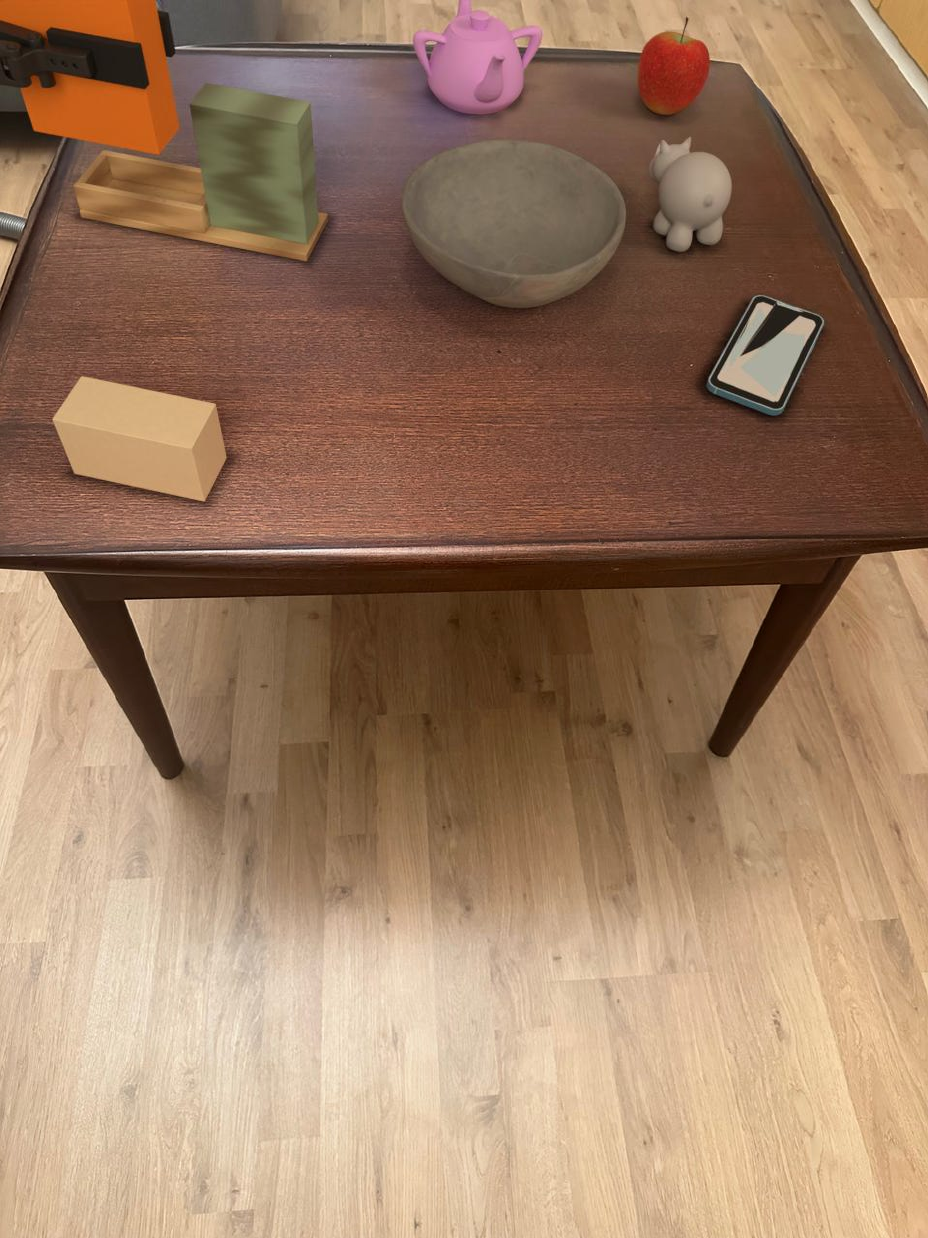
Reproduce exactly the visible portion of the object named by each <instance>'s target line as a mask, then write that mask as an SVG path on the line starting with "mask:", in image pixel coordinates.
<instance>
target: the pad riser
mask: <svg viewBox="0 0 928 1238" xmlns="http://www.w3.org/2000/svg"><path fill="white" fill-rule="evenodd" d="M52 422H53V425H54V427H55V429H56V433H57V435H58V437H59V439H60V442H61V444H62V447H63V449H64V452H65V454H66V456H67V459H68V461H69V464H70V467H71V470H72V472H73V474H74V475H79V476H83V477H86V478H87V477H88V478H93V479H97V480H101V481H106V482H110V483H117V484H121V485H125V486H130V487H135V488H138V489H139V488H140V489H143V490H149V491H152V492H158V493H163V494H167V495H171V496H177V497H181V498H186V499H191V500H195V501H199V502H205V501H206V500H207V498H208V495H209V494H210V492H211V490H212V488H213V486H214V484H215V482H216V480H217V478H218V477H219V474H220V472H221V470H222V468H223V466H224V464H225V463H226V460H227V452H226V448H225V443H224V438H223V432H222V429H221V423H220V418H219V414H218V408H217V404H216V403H214V402H211V401H209V402H208V401H205V400H200V399H195V398H191V397H185V396H180V395H176V394H171V393H166V392H161V391H156V390H152V389H148V388H147V389H146V388H141V387H137V386H133V385H127V384H123V383H118V382H112V381H108V380H104V379H99V378H95V377H94V378H93V377H88V376H85V375H84V376H83V375H81V376H80V378H79V379H78V380H77V382H76V383H75V384H74V386H73V388H72V389H71V391H70V392H69V393H68V395H67V397H66V398H65V399H64V401H63V403H62V404H61V405H60V407H59V408H58V409H57V412H56V413H55V414H54V416H53V418H52Z"/></svg>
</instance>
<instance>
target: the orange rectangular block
mask: <svg viewBox="0 0 928 1238" xmlns="http://www.w3.org/2000/svg"><path fill="white" fill-rule="evenodd" d="M158 11H159V10H158V7H157V2H156V0H0V20H1V21H4V22H7V23H11V24H14V25H17V26H20V27H23V28H27V29H30V30H33V31H36V32H39V33H41V34H42V35H43V39H44V41H48V38H47V34H46V31H47V30H48V29H49V28H50V27H53V28H59V29H64V30H70V31H75V32H81V33H86V34H92V35H97V36H102V37H108V38H113V39H119V40H124V41H130V42H137V43H141V45H142V50H143V55H144V60H145V65H146V69H147V74H148V79H149V85H148V87H147V88H146V89H140V88H135V87H130V86H124V85H119V84H114V83H108V82H103V81H98V80H92V79H87V78H81V77H76V76H71V75H65V74H60V73H55V72H53V73H54V77H55V80H56V85H55V86H54V87H51V88H42V86H41V83H40V80H39V77H38V76H35V75H33V76H31V77H30V78H31V81H32V84H31V85H30V86H29V87H27V88H19V89H20V92H21V95H22V98H23V102H24V104H25V107H26V111H27V114H28V117H29V120H30V123H31V126H32V129H33V132H37V133H42V134H47V135H54V136H58V137H63V138H68V139H74V140H78V141H79V140H80V141H85V142H89V143H94V144H100V145H106V146H110V147H116V148H121V149H126V150H131V151H135V152H142V153H147V154H152V155H157V156H159V155H160V154H161V153H162V152H163V150H164V149H165V148H166V146H167V145H168V144H169V142H170V141H171V140H172V138H174V136H175V135H176V134H177V132H178V131H179V130H180V123H179V118H178V113H177V107H176V102H175V101H176V100H175V96H174V91H173V87H172V81H171V75H170V70H169V67H168V66H169V65H168V60H167V57H166V54H165V48H164V43H163V38H162V33H161V27H160V22H159V17H158Z"/></svg>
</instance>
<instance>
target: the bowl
mask: <svg viewBox="0 0 928 1238" xmlns="http://www.w3.org/2000/svg"><path fill="white" fill-rule="evenodd" d="M400 208H401V213H402V218H403V222H404V224H405V227H406V230H407V232H408V235H409V237H410V239H411V241H412V243H413V245H414V247H415V249H416V250H417V252H419V254H420V256H421V257H422V258H423V259H424V260H425V262H427V264H429V265H430V267H432V268H433V270H435V271H436V272H438V273H439V274H440V275H441V276H442V277H444V278H445V279H446V280H447V281H449V282H451V283H452V285H453V284H454V285H455V286H456V287H457V288H460V289H462V290H463V291H465V292H467V293H468V294H470V295H472V296H475V297H477V298H479V299H481V300H483V301H485V302H487V303H490V304H492V305H495V306H497V307H503V308H510V309H530V308H535V307H537V308H538V307H542V306H545V305H550V304H551V303H554V302H555V301H557V300H561V299H563V298H566V297H568V296H570V295H572V294H574V293H576V292H578V291H579V290H581V289H582V288H583V287H585V286H586V285H587V284H588V283H590V282H591V281H592V280H593V279H594V278H595V277H597V275H599V273H600V272H601V271H602V270H603V269H604V268H605V267H606V266H607V264H608V263H609V262H610V260H611V259H612V257H613V256H614V254H615V253H616V250H617V249H618V247H619V245H620V243H621V240H622V239H623V235H624V232H625V227H626V221H627V220H626V219H627V209H626V204H625V199H624V197H623V195H622V193H621V191H620V189H619V188H618V186H617V185H616V183H615V182H614V181H613V180H612V179H611V177H610V176H608V174H607V173H605V172H604V171H603V170H601V169H600V168H599V167H597V166H596V165H594V164H593V163H591V162H590V161H588V160H586V159H584V158H582V157H580V156H578V155H577V154H575V153H573V152H571V151H569V150H567V149H564V148H562V147H559V146H556V145H552V144H548V143H544V142H537V141H528V140H521V139H487V140H478V141H474V142H470V143H466V144H461V145H459V146H455V147H452V148H450V149H447V150H444V151H442V152H440V153H438V154H436V155H434V156H433V157H431V158H429V159H428V160H426V161H424V162H423V163H421V164H420V165H419V166H418V168H416V169H415V171H413V172H412V174H411V175H410V176H409V178H408V179H407V181H406V182H405V184H404V187H403V189H402V193H401V199H400Z"/></svg>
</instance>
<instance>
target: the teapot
mask: <svg viewBox="0 0 928 1238" xmlns="http://www.w3.org/2000/svg"><path fill="white" fill-rule="evenodd" d="M471 1H472V0H459V1H458V7H457V12H456V16H455V18H454V19H452V20H451V21H450V22H449V23H448V24H447V26H446V27H445V28H444V30H443V31H442V33H439V32H436V31H431V30H427V29H420V30H417V31H416V32H415V33H414V34H413V36H412V45H413V49H414V52H415V54H416V56H417V59H418V61H419V62H420V64H421V67H422V68H423V69H424V71H425V72H426V81H427V84H428V87H429V88H430V89H429V90H431V92H432V93H433V95H434V96H435V97H436V99H437V100H438V101H439V102H440V103H441V104H442V105H444V106H445V107H446V108H449V109H451V110H452V111H456V112H459V113H462V114H467V115H490V114H496V113H499V112H501V111H504V110H505V109H506V108H508V107H509V106H511V105H512V104H513V103H514V102H515V101H516V100H517V99H518V97H520V95H521V93H522V91H523V89H524V83H525V82H524V79H525V78H524V77H525V75H524V71H525V70H526V69H527V67H528V65H529V64H530V62H531V61H532V60H533V58H534V57H535V55H536V53H537V52H538V50H539V48H540V46H541V43H542V39H543V30H542V28H541V27H540V26H538V25H528V26H523V27H519V28H516V29H513V30H510V29H509V27H508V25H507V24H506V23H504V21H502V20H500V19H499V18H497V17H495V16H492V15H491V14H490V13H489V12H488V11H486V10H481V9H476V10H472V2H471ZM526 37H528V38H529V41H528V44H527V47H526V48H525V49H526V50H525V52H524V54H523V56H521V52H520V51H519V47H518V45H517V43H516V41H515V40H517V39H522V38H526ZM427 42H435V45H434V47H433V49H432V51H431V54H430V58H428V53H427V50H426V44H427Z"/></svg>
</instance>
